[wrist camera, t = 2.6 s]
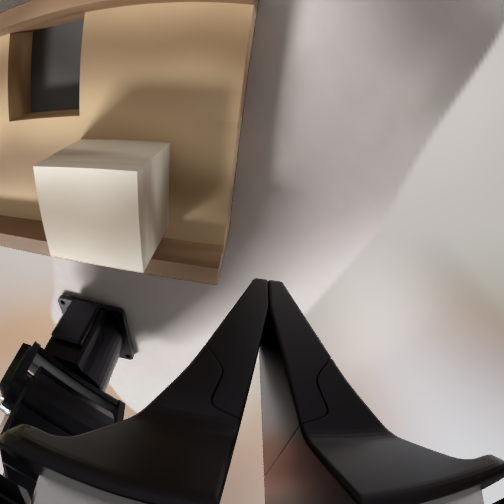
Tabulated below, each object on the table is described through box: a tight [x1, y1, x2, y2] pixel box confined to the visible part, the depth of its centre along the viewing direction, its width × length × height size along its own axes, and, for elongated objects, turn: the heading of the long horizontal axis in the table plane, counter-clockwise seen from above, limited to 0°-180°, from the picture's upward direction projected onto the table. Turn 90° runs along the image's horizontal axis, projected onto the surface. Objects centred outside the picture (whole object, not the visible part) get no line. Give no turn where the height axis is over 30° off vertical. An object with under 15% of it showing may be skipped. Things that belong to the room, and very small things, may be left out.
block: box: [33, 139, 170, 273], centre depth 13 cm, size 4×5×4 cm
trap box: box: [0, 0, 259, 285], centre depth 13 cm, size 14×25×4 cm, turn 83°
